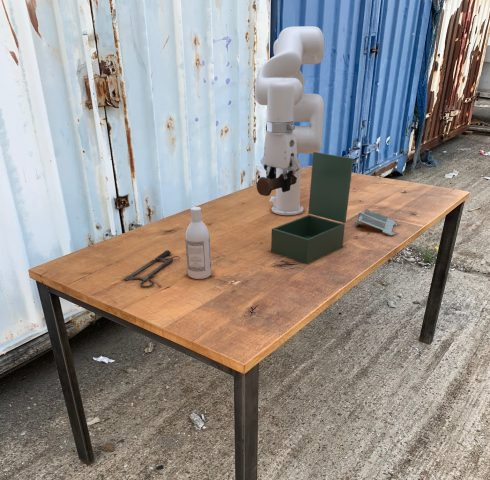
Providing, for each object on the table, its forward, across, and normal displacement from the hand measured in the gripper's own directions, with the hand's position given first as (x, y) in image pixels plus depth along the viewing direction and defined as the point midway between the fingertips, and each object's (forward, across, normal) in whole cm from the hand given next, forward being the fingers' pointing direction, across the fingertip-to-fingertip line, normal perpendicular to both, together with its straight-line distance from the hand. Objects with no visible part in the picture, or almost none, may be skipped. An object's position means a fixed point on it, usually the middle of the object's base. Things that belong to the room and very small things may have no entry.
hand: (278, 188), depth 157 cm
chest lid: (+1, -8, -15) cm, 17 cm away
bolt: (+1, 0, 0) cm, 1 cm away
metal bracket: (+20, -13, -38) cm, 45 cm away
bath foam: (+19, +2, +32) cm, 38 cm away
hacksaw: (+19, +14, +38) cm, 45 cm away
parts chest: (+19, -9, -5) cm, 22 cm away
